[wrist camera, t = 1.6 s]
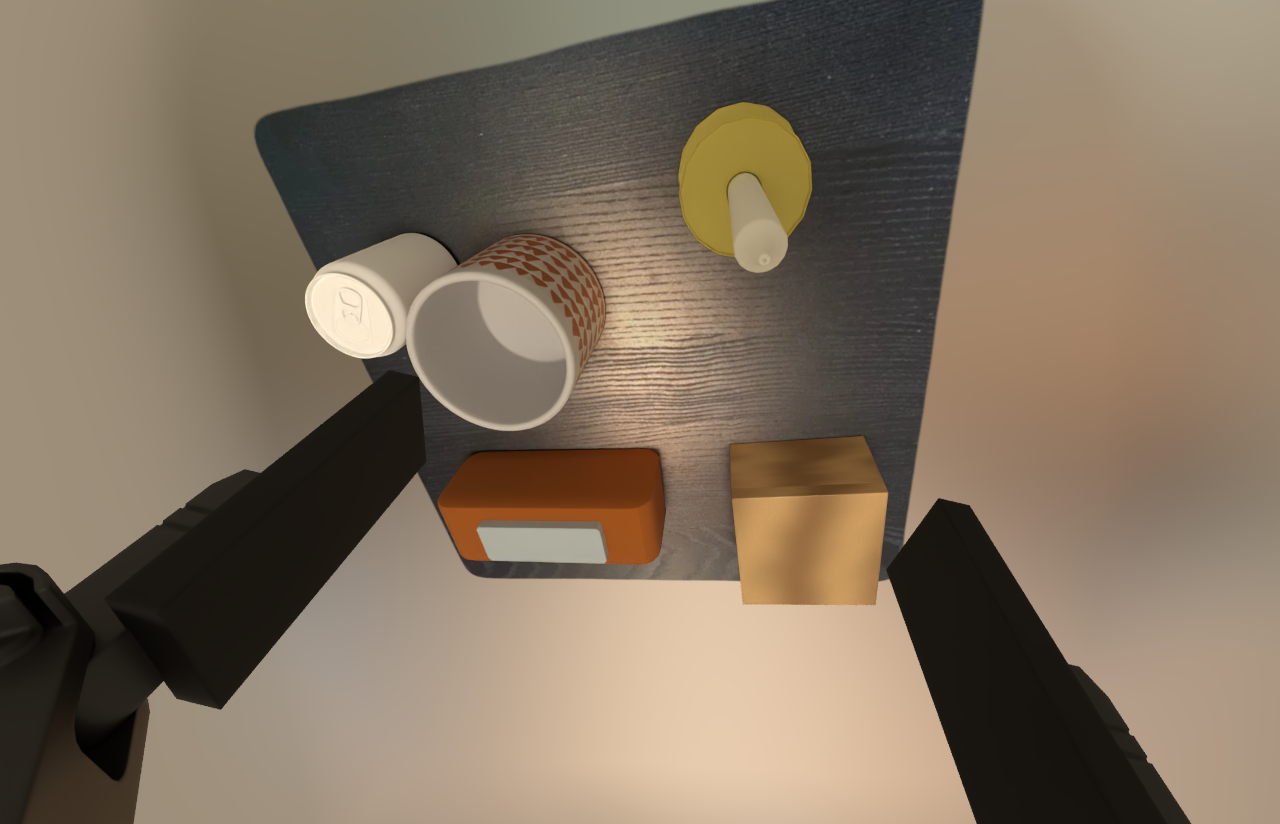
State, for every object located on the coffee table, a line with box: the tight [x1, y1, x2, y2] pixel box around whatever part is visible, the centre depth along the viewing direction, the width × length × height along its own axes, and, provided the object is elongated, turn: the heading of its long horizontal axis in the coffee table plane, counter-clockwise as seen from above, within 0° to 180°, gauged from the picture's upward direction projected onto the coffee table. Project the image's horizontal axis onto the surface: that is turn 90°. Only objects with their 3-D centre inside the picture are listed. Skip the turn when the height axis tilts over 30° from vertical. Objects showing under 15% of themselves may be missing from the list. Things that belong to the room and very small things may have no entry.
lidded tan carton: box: [730, 436, 888, 605], centre depth 53 cm, size 14×16×9 cm
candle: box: [678, 102, 812, 273], centre depth 28 cm, size 10×10×27 cm
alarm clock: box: [438, 449, 666, 565], centre depth 55 cm, size 24×8×11 cm, turn 97°
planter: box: [406, 234, 605, 431], centre depth 43 cm, size 14×14×13 cm
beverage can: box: [305, 233, 457, 358], centre depth 43 cm, size 8×8×12 cm
